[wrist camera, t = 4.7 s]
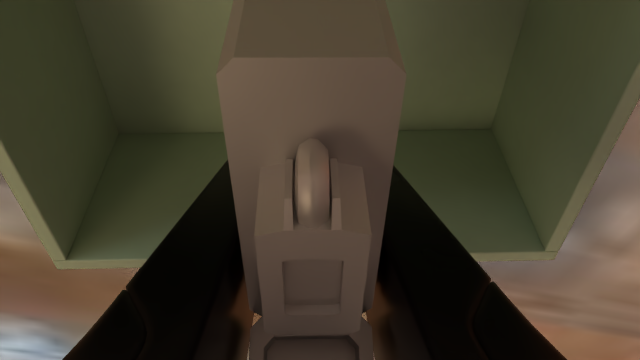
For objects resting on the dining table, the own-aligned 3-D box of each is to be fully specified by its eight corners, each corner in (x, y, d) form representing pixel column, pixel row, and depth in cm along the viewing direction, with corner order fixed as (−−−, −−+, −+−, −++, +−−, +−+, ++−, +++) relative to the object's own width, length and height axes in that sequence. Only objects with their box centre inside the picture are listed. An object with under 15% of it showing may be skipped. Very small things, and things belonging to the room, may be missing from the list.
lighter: (249, -86, 8) (74, 603, 2) (365, -85, 8) (572, 585, 2) (273, 230, 12) (247, 695, 7) (343, 229, 12) (381, 690, 7)
